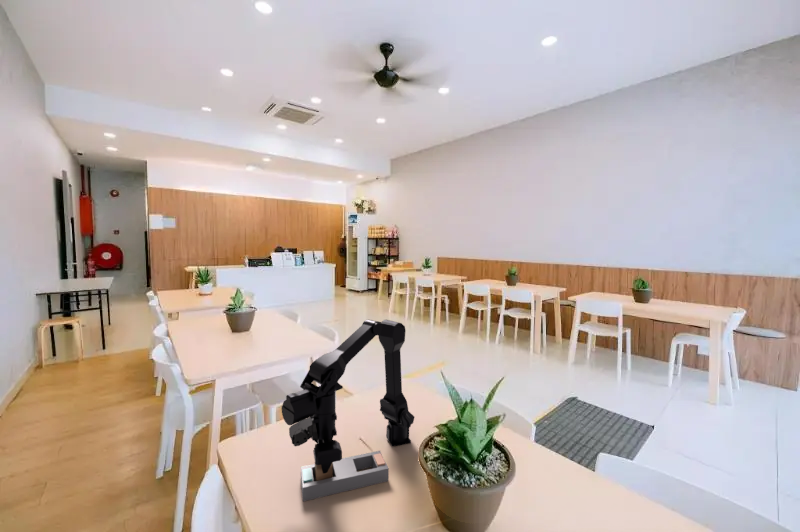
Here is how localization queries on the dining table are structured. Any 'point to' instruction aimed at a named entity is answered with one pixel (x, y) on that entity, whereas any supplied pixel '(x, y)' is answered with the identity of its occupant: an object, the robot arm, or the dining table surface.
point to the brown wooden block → (320, 474)
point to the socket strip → (345, 475)
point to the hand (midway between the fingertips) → (323, 467)
